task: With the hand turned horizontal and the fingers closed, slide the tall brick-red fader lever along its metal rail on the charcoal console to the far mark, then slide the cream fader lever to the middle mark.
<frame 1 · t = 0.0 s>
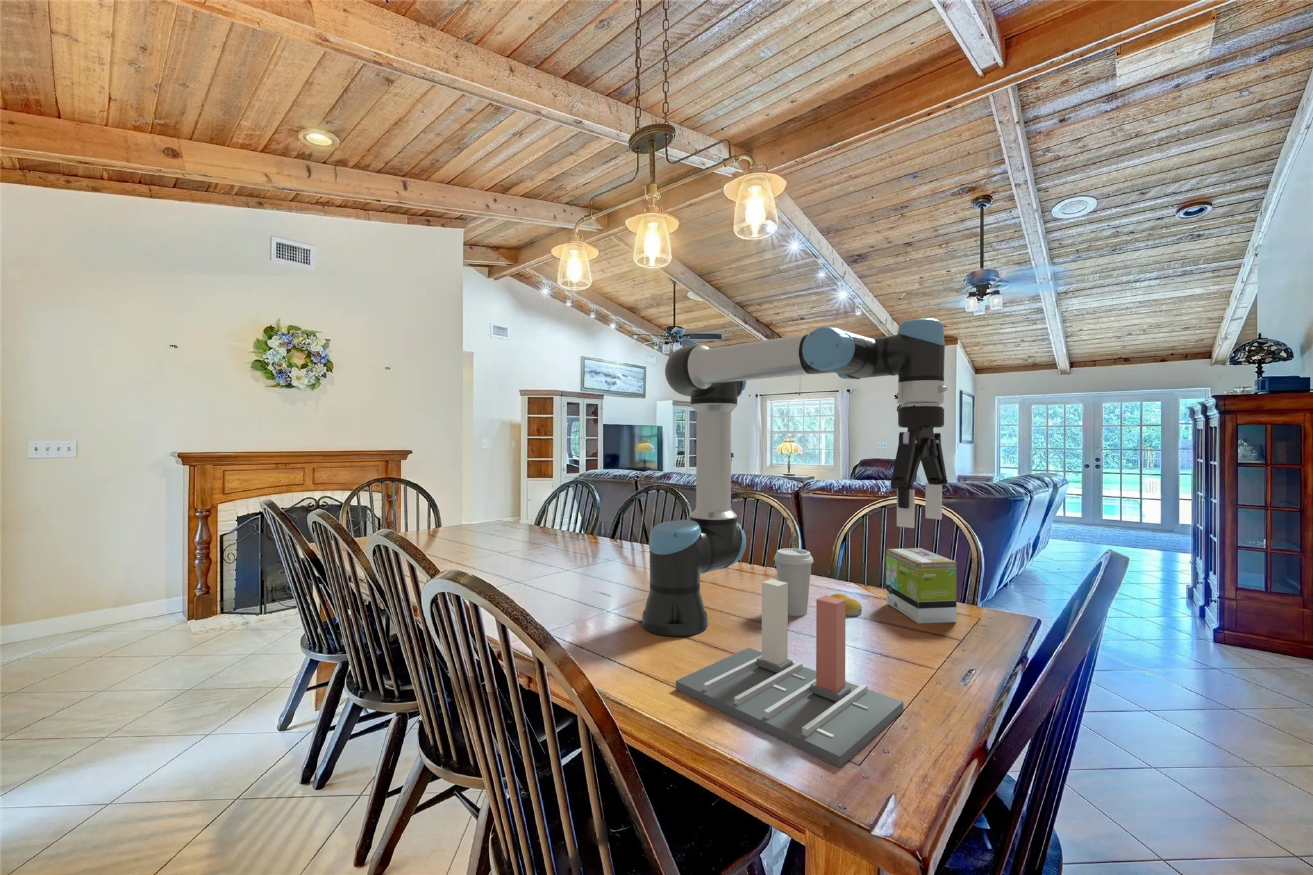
hand: (920, 522, 97), 28 cm above the table, tool pointing down, fingers open, 13 cm apart
console: (784, 699, 88), on the table
yellow rounded lump: (842, 612, 134), on the table
coffee cup: (793, 612, 132), on the table
cream fader: (774, 624, 97), point 10 cm above the table, slide at 0.0 cm
tea box: (919, 614, 132), on the table
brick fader: (830, 646, 87), point 10 cm above the table, slide at 0.0 cm
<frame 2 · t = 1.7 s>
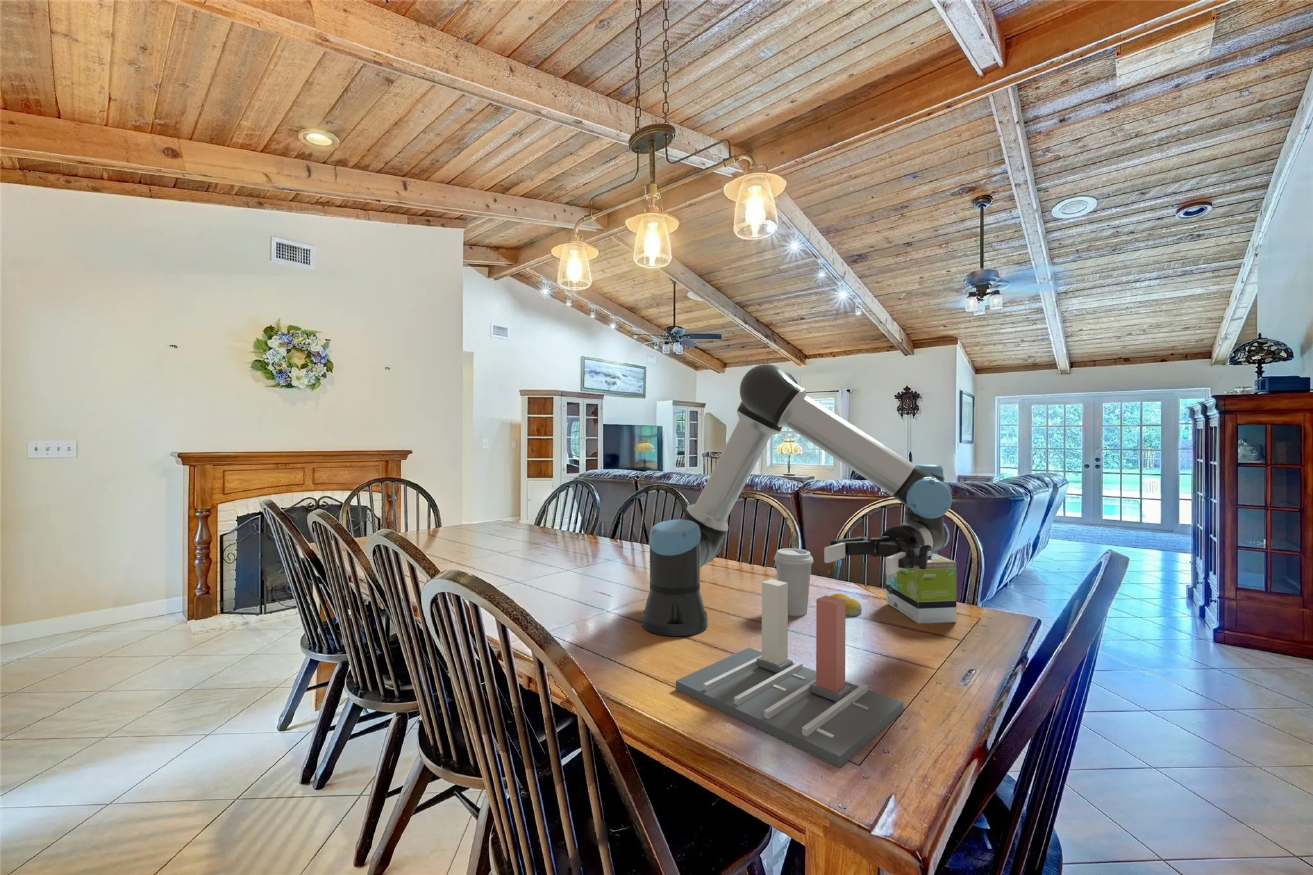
hand: (855, 560, 93), 22 cm above the table, tool horizontal, fingers open, 10 cm apart
nothing on the table moved.
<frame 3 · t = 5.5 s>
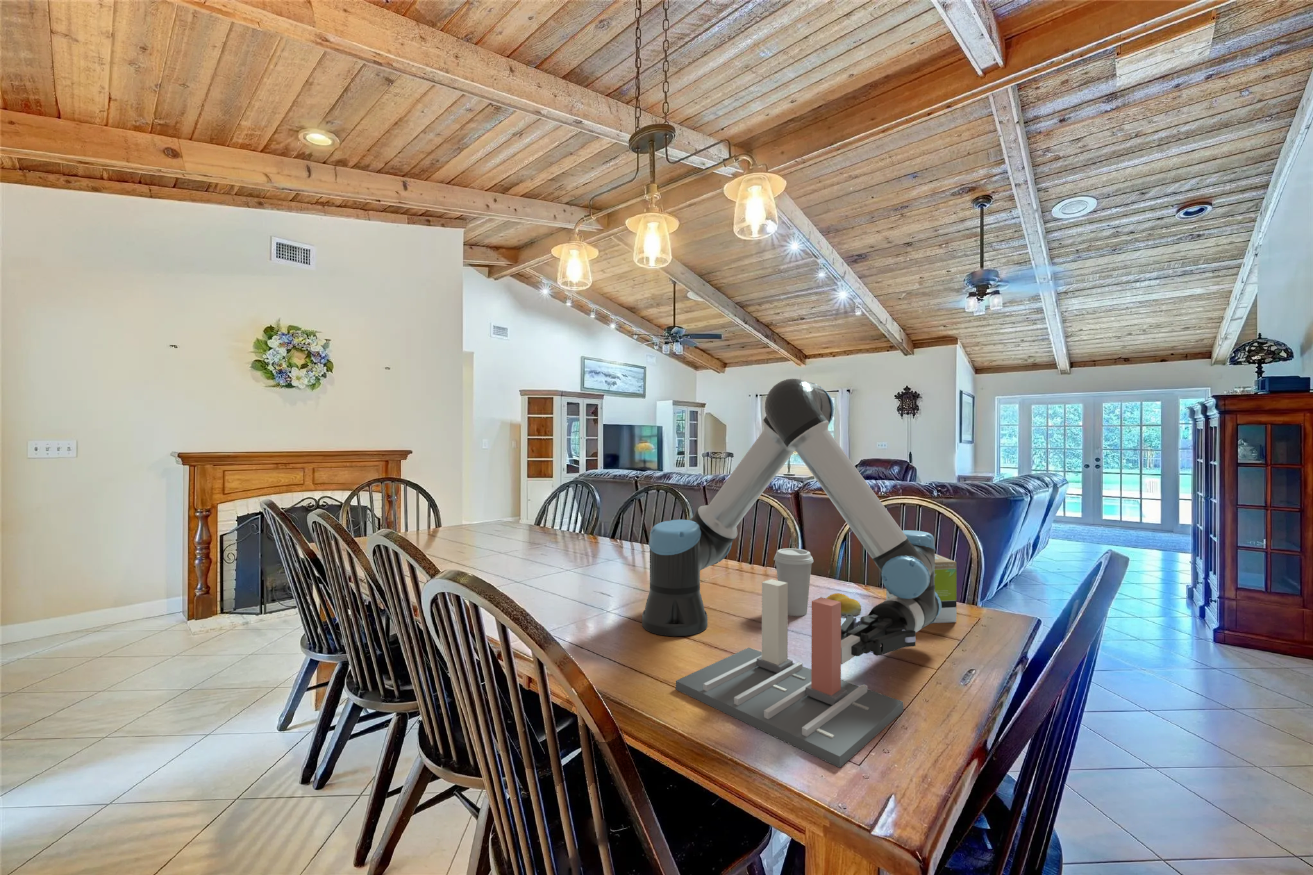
hand: (837, 654, 86), 8 cm above the table, tool horizontal, fingers closed
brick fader: (826, 648, 86), point 10 cm above the table, slide at 1.5 cm, touching gripper
everything else where it was.
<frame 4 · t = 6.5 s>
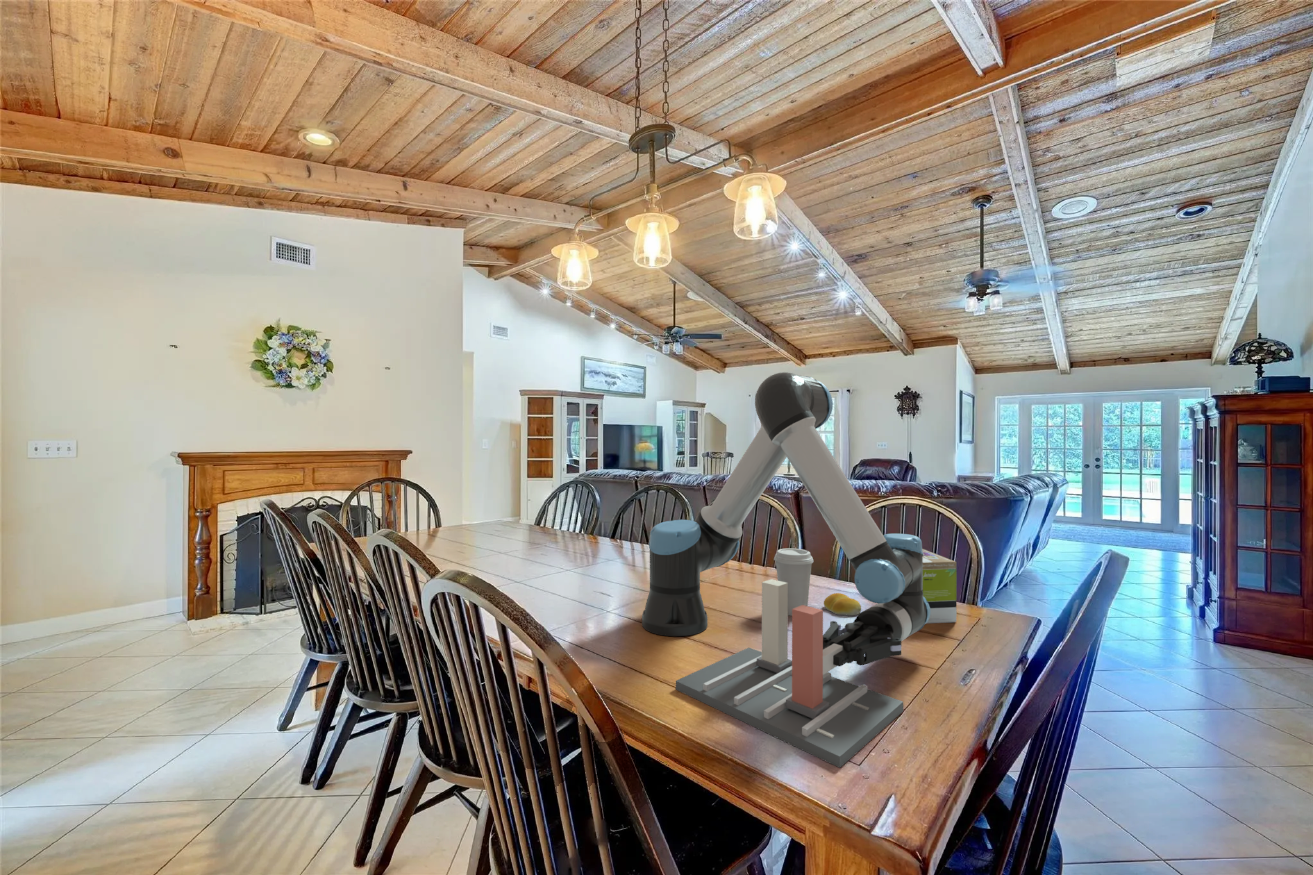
hand: (818, 664, 82), 8 cm above the table, tool horizontal, fingers closed
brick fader: (807, 659, 81), point 10 cm above the table, slide at 7.3 cm, touching gripper
everything else where it was.
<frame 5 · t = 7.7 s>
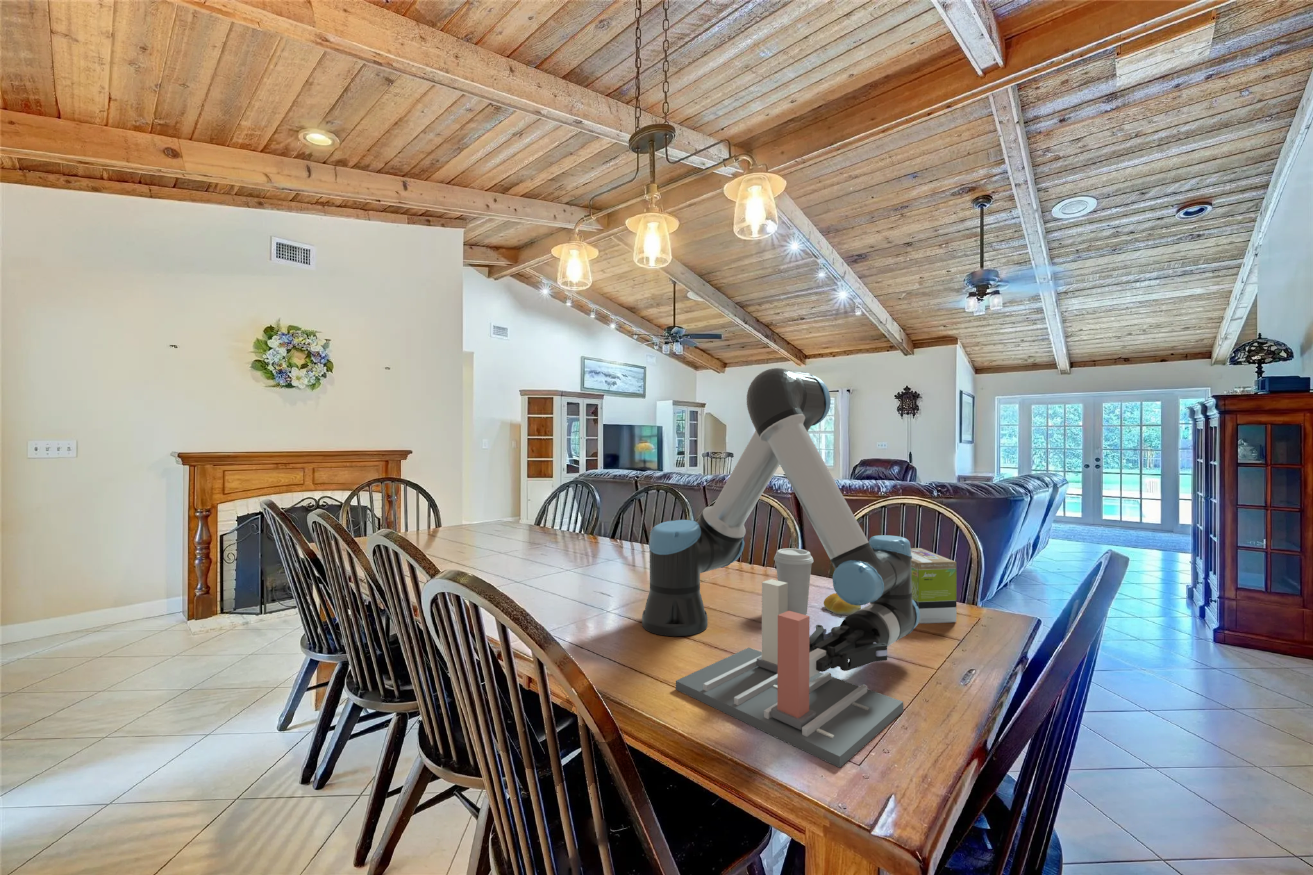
hand: (800, 670, 80), 8 cm above the table, tool horizontal, fingers closed
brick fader: (793, 666, 79), point 10 cm above the table, slide at 11.2 cm, touching gripper
everything else where it was.
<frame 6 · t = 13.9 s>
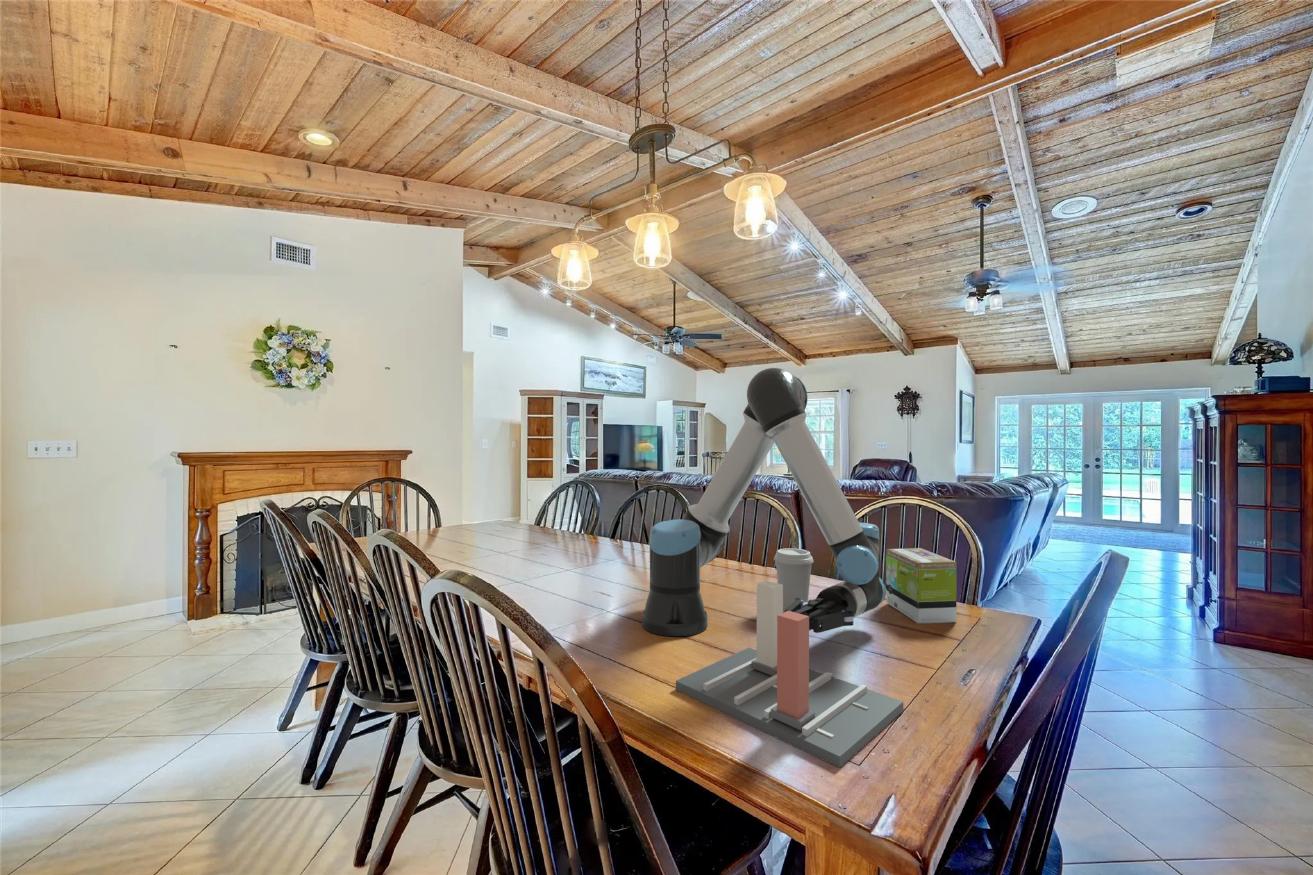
hand: (779, 631, 96), 8 cm above the table, tool horizontal, fingers closed
cream fader: (769, 626, 95), point 10 cm above the table, slide at 1.6 cm, touching gripper
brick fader: (793, 667, 79), point 10 cm above the table, slide at 11.4 cm
everything else where it was.
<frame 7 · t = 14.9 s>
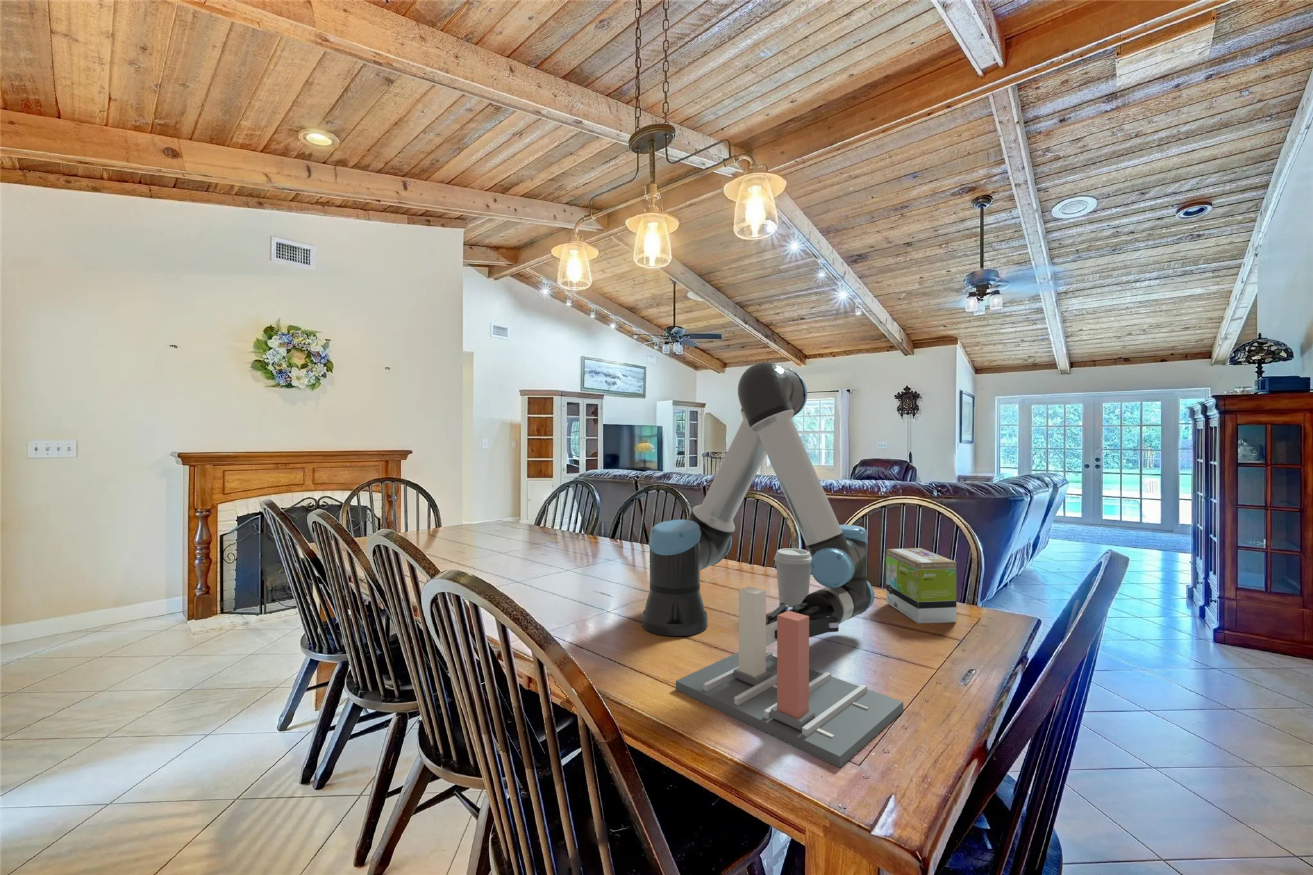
hand: (760, 638, 93), 8 cm above the table, tool horizontal, fingers closed
cream fader: (752, 634, 92), point 10 cm above the table, slide at 6.9 cm, touching gripper
everything else where it was.
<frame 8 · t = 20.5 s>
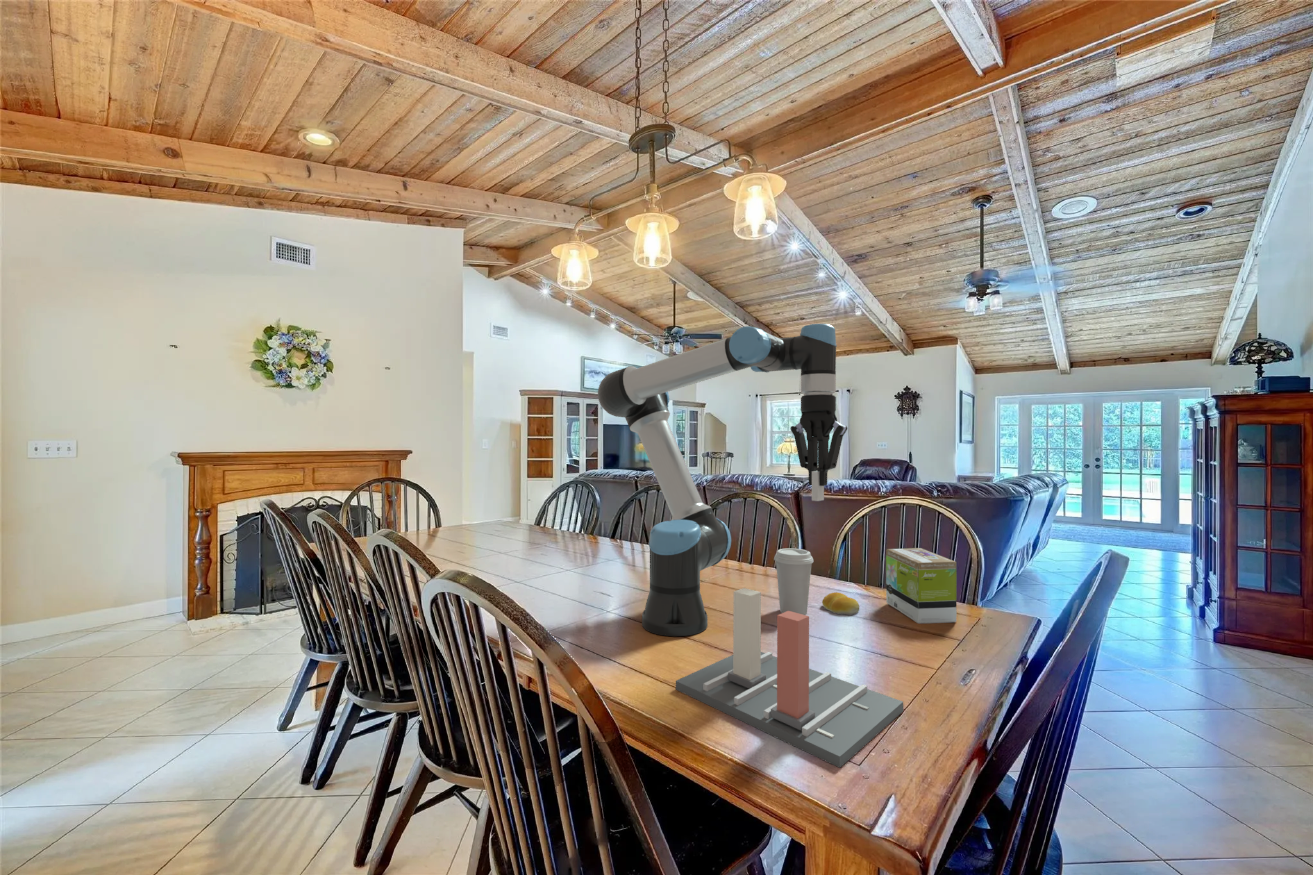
hand: (817, 500, 119), 29 cm above the table, tool pointing down, fingers closed
cream fader: (747, 636, 91), point 10 cm above the table, slide at 8.3 cm
at the end: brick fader slide at 11.4 cm; cream fader slide at 8.3 cm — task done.
